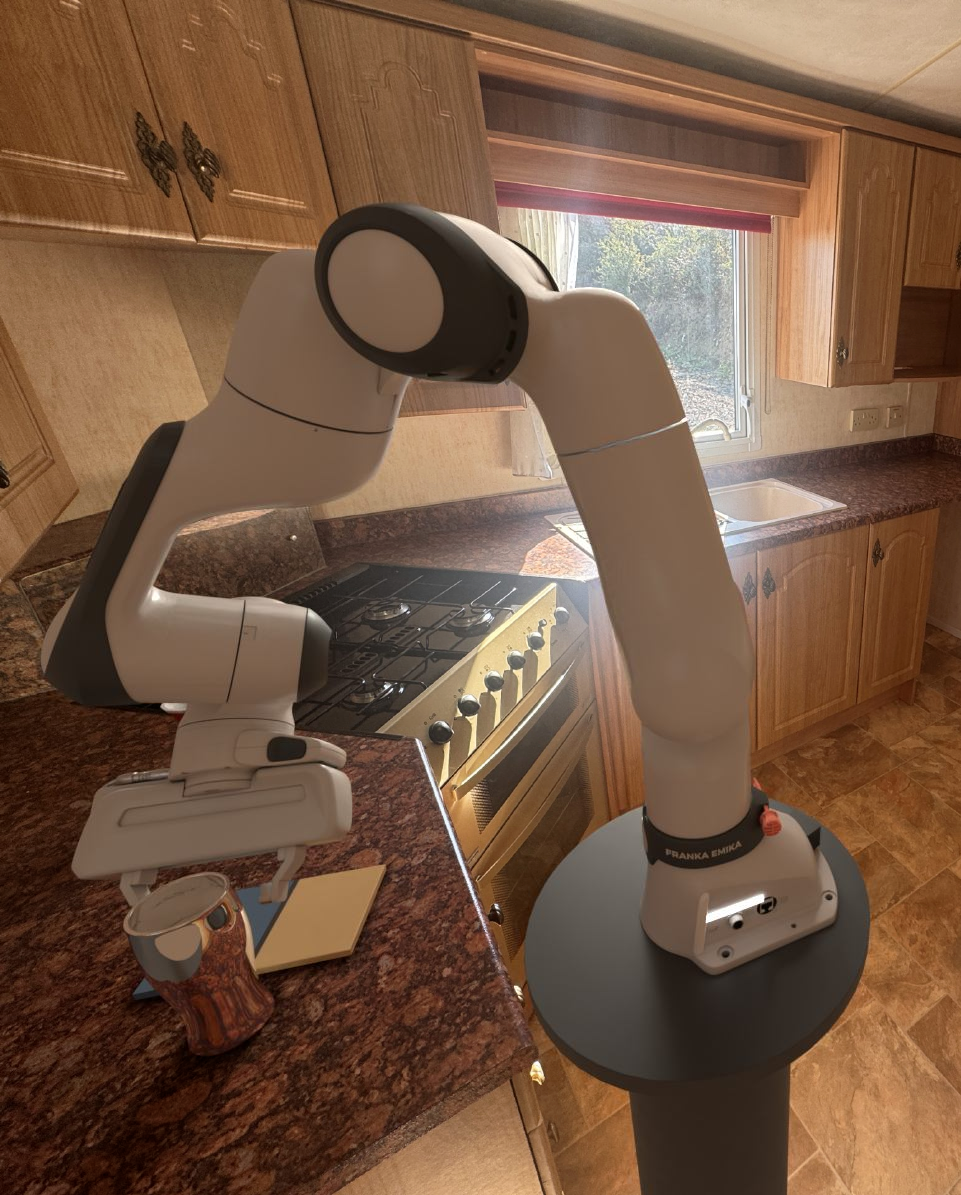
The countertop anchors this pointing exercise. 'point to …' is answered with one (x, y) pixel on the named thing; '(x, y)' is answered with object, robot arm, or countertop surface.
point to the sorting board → (306, 920)
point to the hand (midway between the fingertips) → (210, 914)
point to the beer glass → (201, 960)
